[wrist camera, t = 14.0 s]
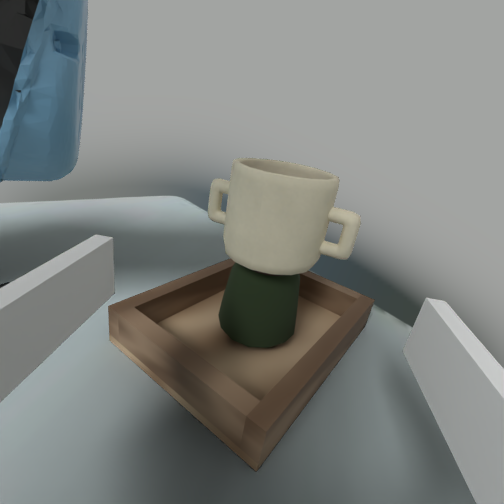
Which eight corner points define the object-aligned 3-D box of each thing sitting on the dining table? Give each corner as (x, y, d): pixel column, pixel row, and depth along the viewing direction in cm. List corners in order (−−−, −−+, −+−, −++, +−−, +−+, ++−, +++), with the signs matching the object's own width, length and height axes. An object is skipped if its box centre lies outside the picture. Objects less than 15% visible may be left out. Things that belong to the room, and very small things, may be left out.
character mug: (328, 329, 27) (375, 179, 21) (308, 386, 21) (367, 195, 15) (219, 288, 30) (237, 150, 25) (174, 326, 24) (184, 153, 19)
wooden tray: (109, 340, 22) (108, 306, 21) (252, 271, 36) (256, 248, 35) (256, 471, 16) (266, 431, 14) (364, 326, 29) (374, 299, 28)
